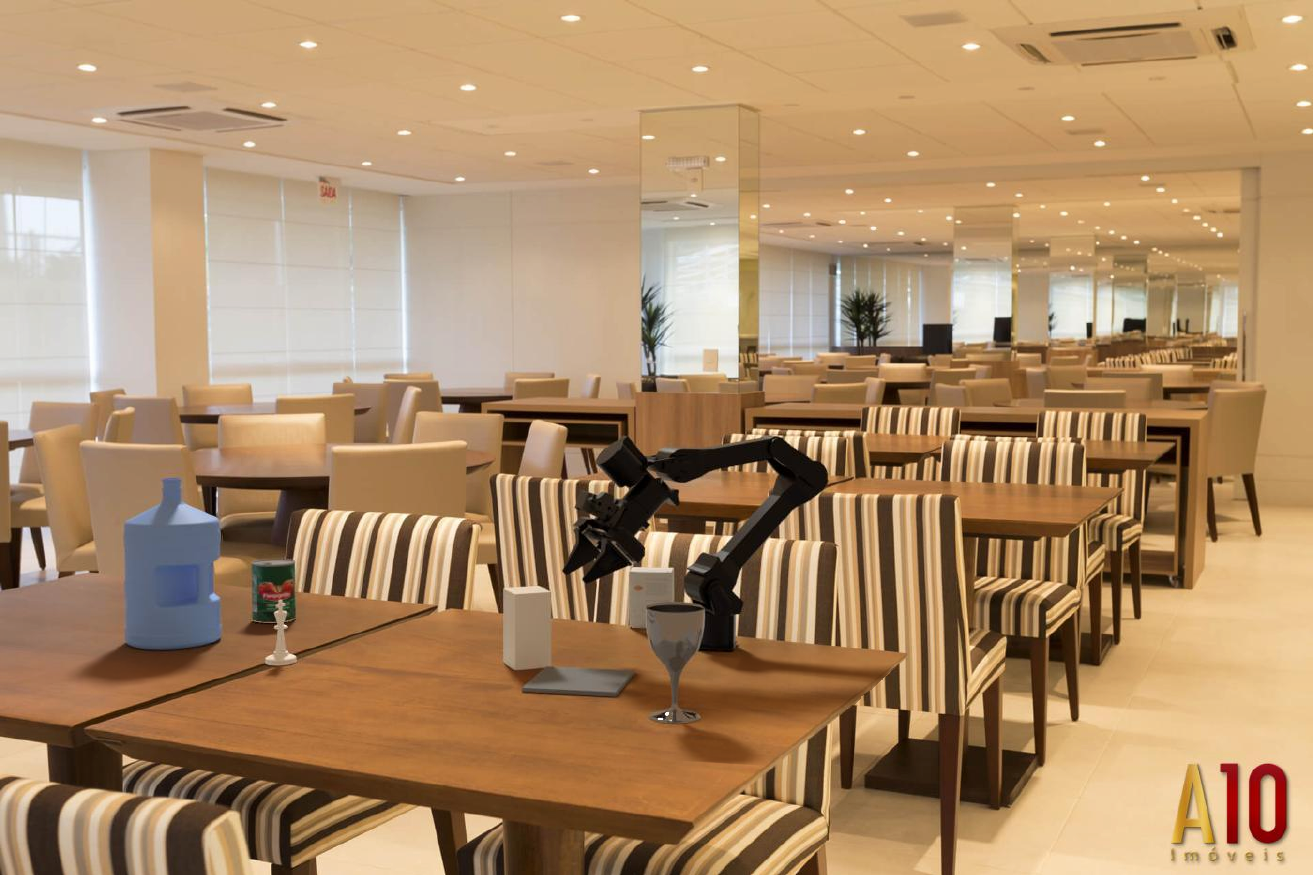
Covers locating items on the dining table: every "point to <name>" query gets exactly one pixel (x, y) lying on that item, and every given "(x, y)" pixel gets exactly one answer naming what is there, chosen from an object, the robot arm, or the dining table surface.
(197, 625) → the water jug
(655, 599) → the small box
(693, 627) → the wine glass
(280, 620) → the chess piece
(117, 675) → the dining table surface
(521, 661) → the white rectangular block
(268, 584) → the canned tomato
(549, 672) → the slate mat
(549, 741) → the dining table surface
